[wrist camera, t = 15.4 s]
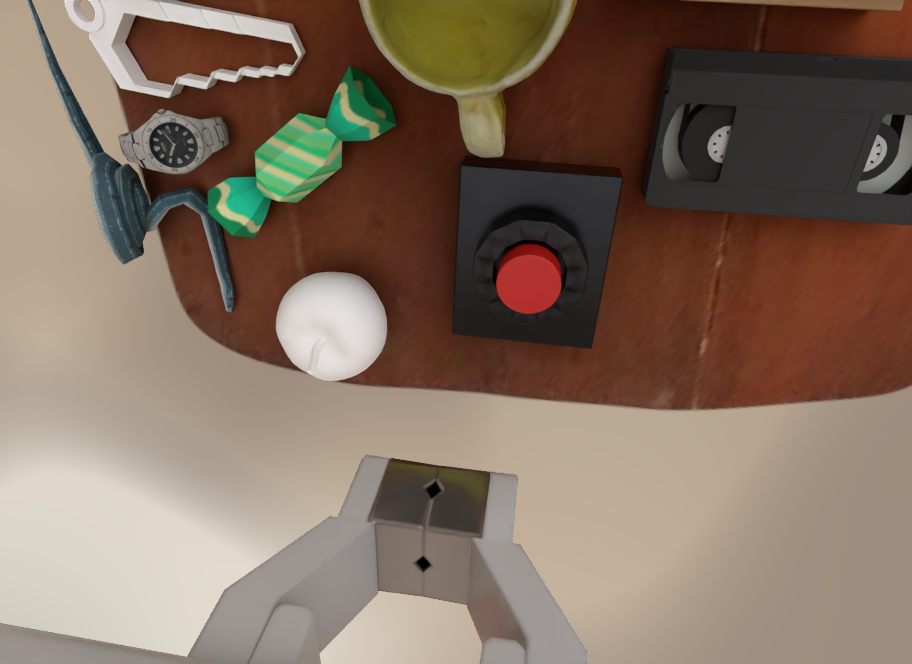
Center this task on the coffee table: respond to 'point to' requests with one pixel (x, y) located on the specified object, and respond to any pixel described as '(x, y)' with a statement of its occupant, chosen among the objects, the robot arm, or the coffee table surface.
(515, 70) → the mug
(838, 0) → the base
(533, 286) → the button
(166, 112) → the wristwatch
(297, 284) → the plain white apple
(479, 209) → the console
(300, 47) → the key shaped keychain
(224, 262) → the stylized snake
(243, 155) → the coffee table surface
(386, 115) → the candy
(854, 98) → the vhs tape
